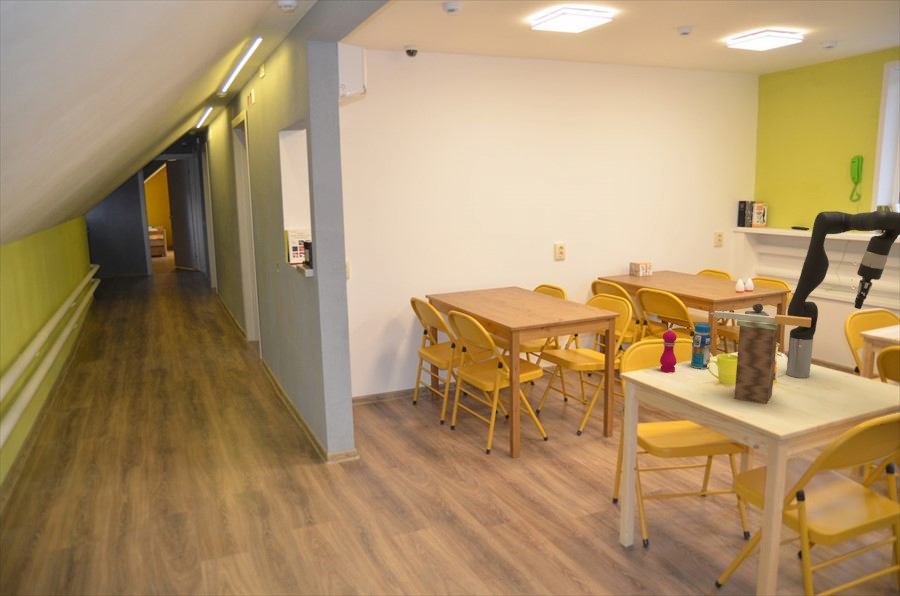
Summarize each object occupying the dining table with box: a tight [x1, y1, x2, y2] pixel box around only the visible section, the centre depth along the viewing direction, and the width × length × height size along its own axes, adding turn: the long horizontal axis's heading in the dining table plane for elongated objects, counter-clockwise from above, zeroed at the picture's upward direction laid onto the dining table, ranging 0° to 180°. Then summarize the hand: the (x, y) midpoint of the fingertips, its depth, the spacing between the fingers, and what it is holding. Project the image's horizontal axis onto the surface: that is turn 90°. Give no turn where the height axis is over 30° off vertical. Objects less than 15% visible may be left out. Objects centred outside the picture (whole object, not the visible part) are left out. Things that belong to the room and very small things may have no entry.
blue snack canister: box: [690, 323, 712, 370], centre depth 304 cm, size 8×8×20 cm
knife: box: [709, 310, 811, 327], centre depth 255 cm, size 36×3×3 cm, turn 57°
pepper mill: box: [659, 327, 677, 373], centre depth 299 cm, size 7×7×20 cm
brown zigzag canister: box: [733, 320, 781, 405], centre depth 262 cm, size 14×15×32 cm
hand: (857, 305), depth 246 cm, fingers open, 8 cm apart
